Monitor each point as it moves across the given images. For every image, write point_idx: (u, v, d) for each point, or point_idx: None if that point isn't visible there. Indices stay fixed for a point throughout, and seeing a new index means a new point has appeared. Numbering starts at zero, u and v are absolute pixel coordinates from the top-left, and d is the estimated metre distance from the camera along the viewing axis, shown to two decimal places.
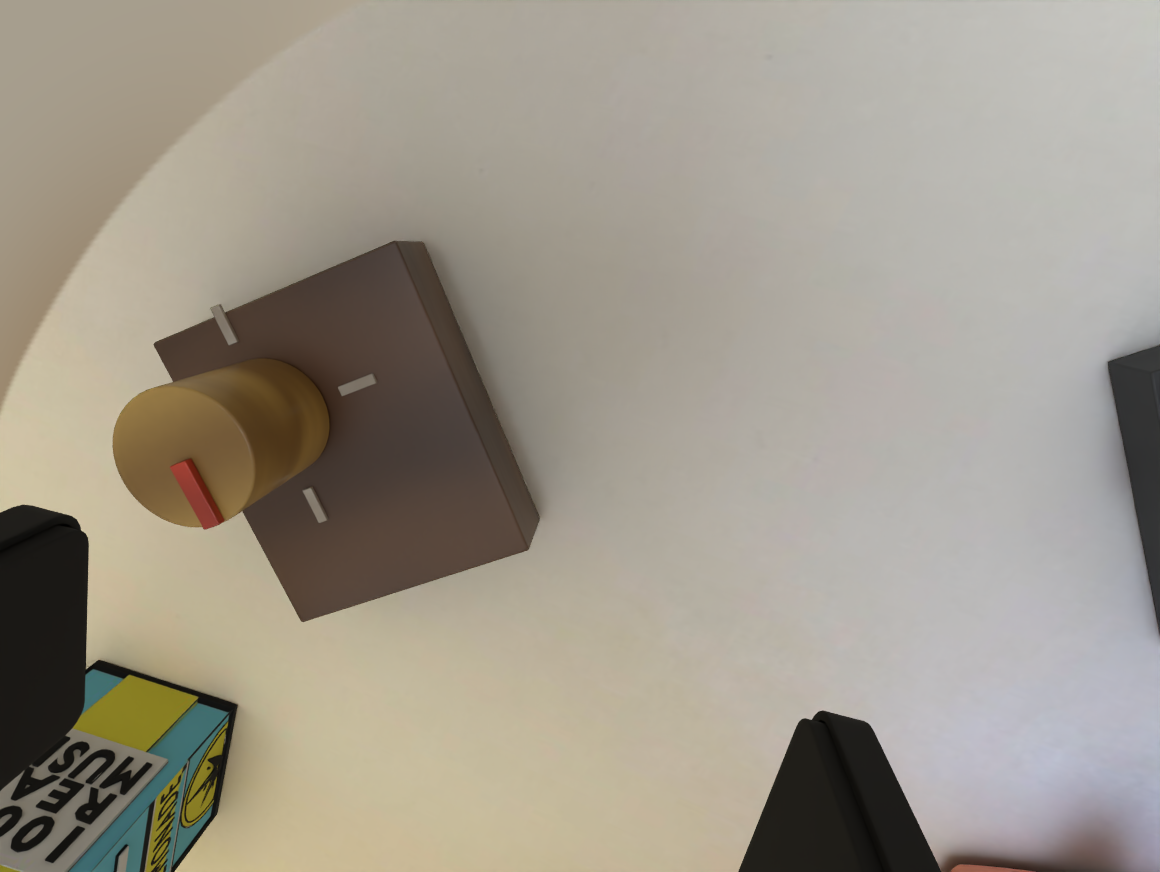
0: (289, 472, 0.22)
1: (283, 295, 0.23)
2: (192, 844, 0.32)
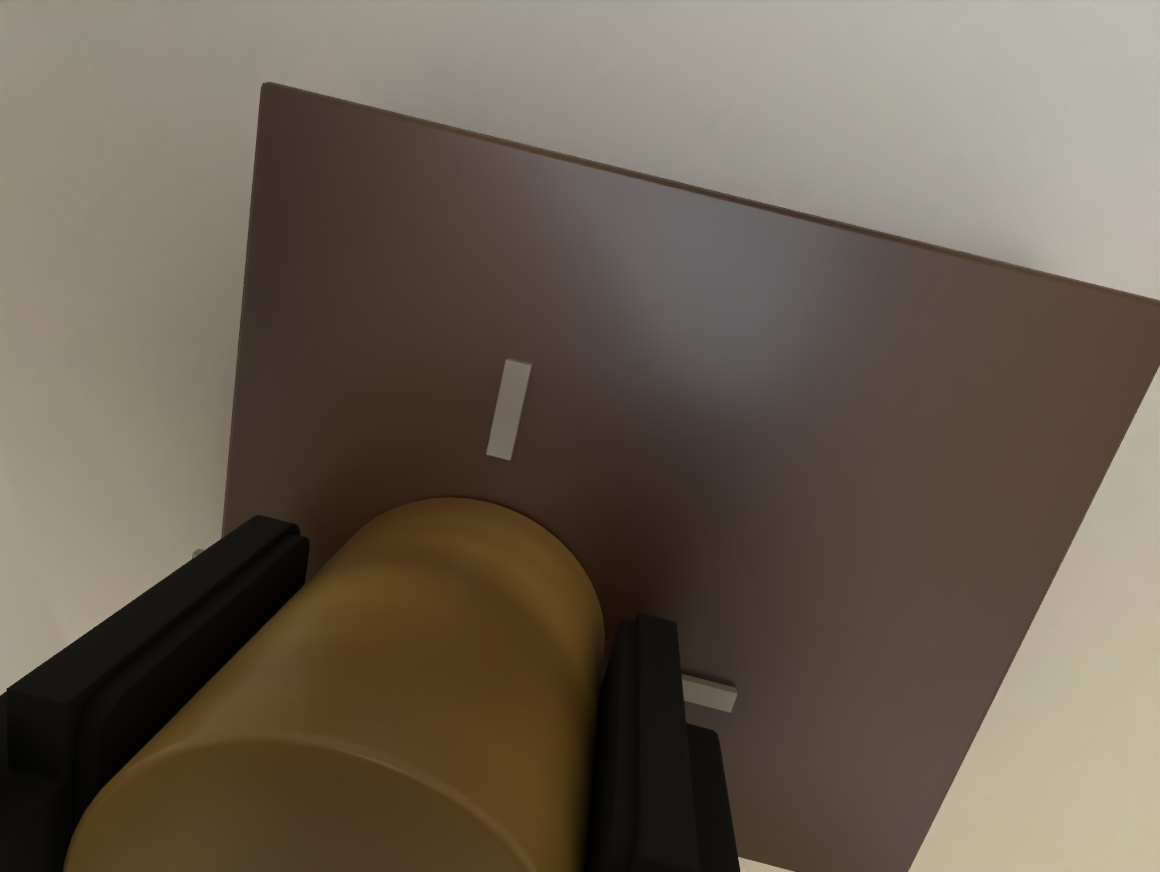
0: (578, 694, 0.07)
1: (245, 418, 0.10)
2: None
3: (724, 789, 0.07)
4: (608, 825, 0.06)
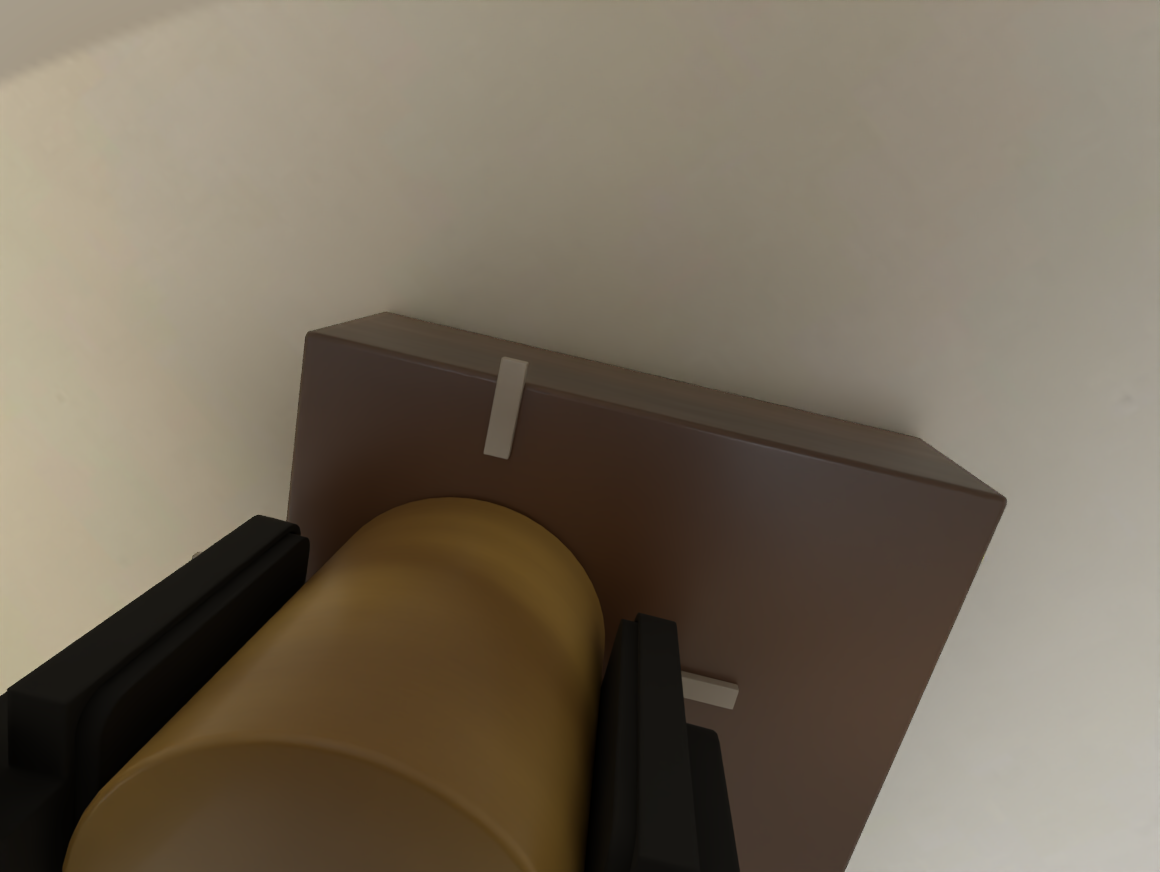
0: (578, 693, 0.07)
1: (681, 437, 0.09)
2: None
3: (724, 789, 0.07)
4: (608, 825, 0.06)
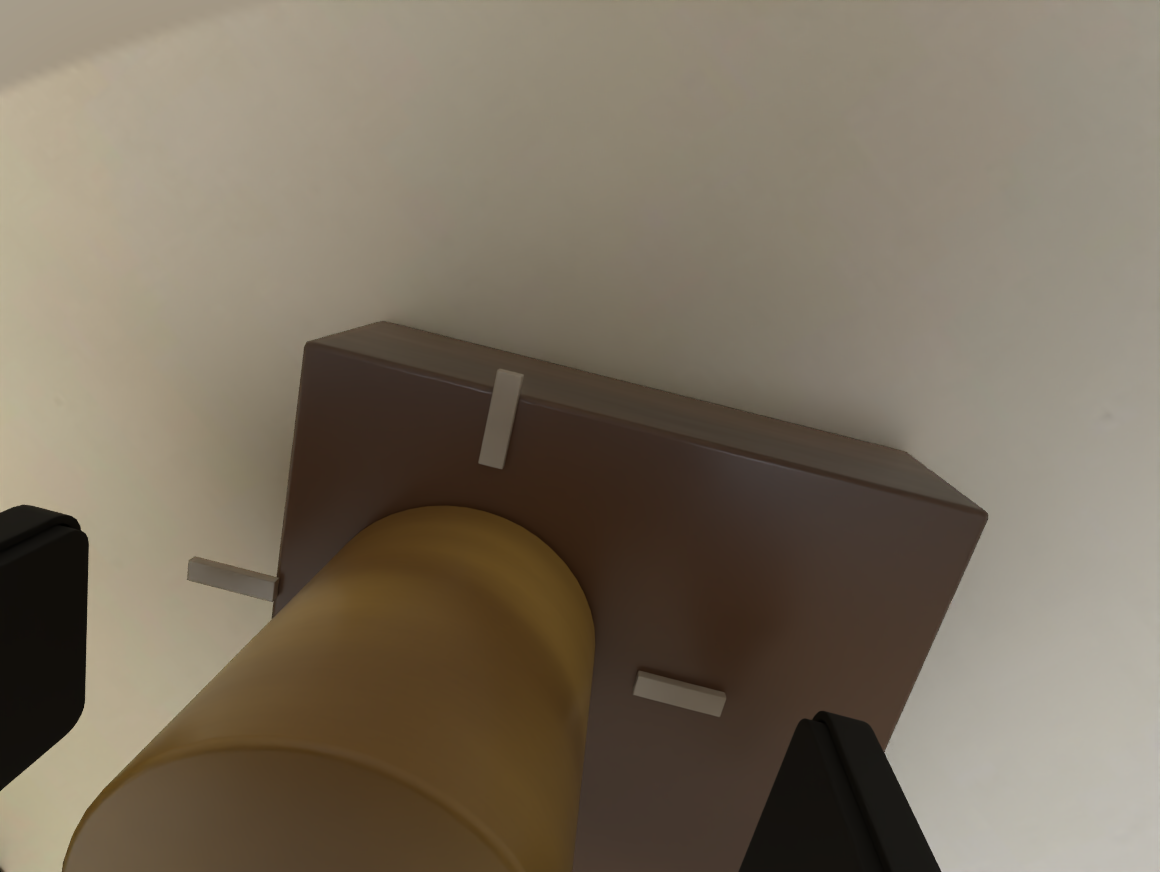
0: (570, 704, 0.08)
1: (672, 450, 0.09)
2: None
3: None
4: None
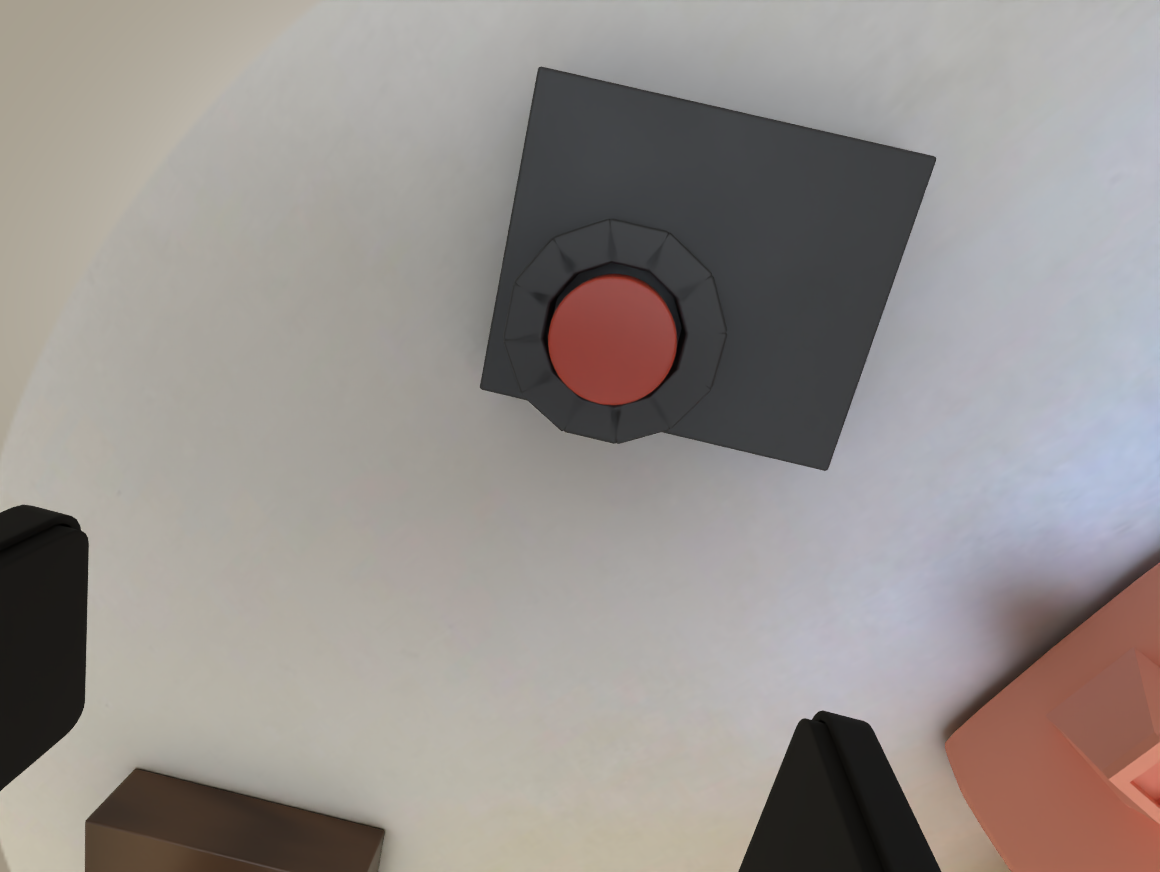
0: None
1: None
2: None
3: None
4: None
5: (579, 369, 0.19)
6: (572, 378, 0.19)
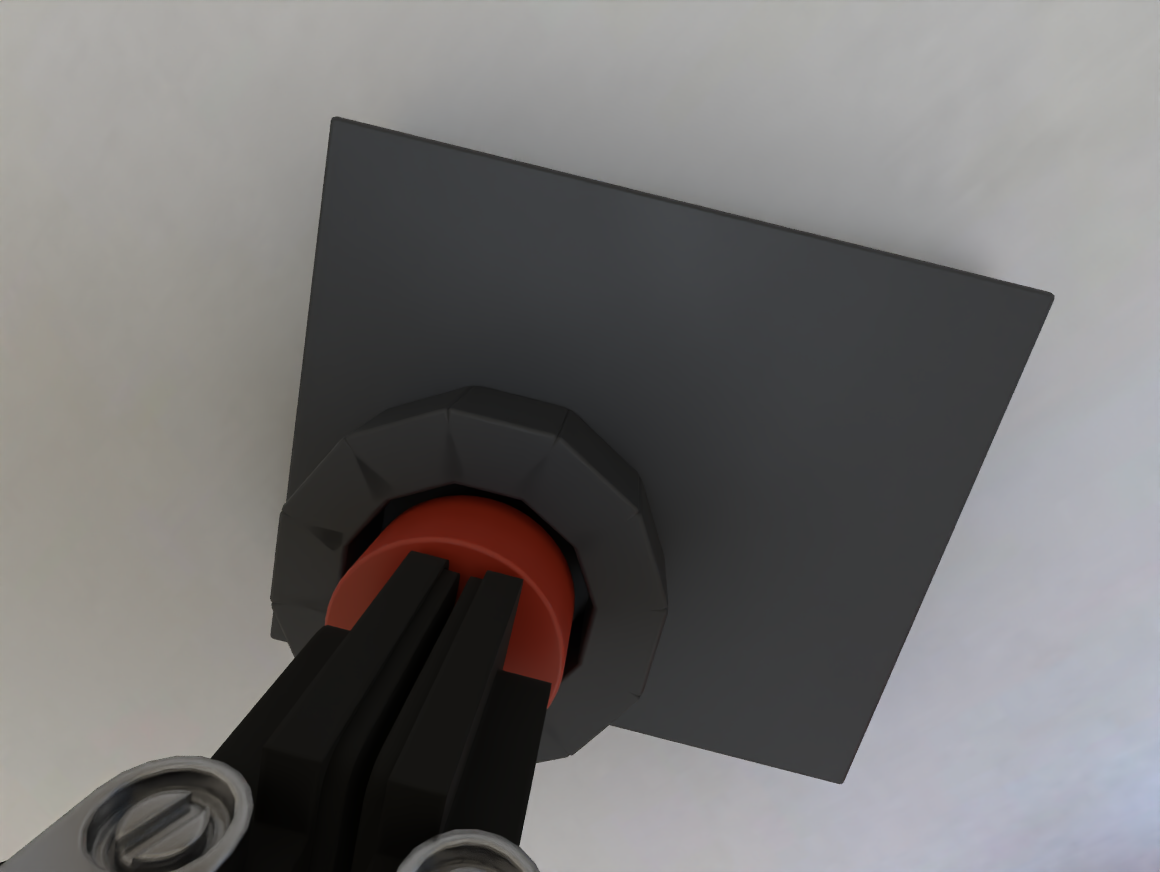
0: None
1: None
2: None
3: (538, 734, 0.07)
4: None
5: None
6: None
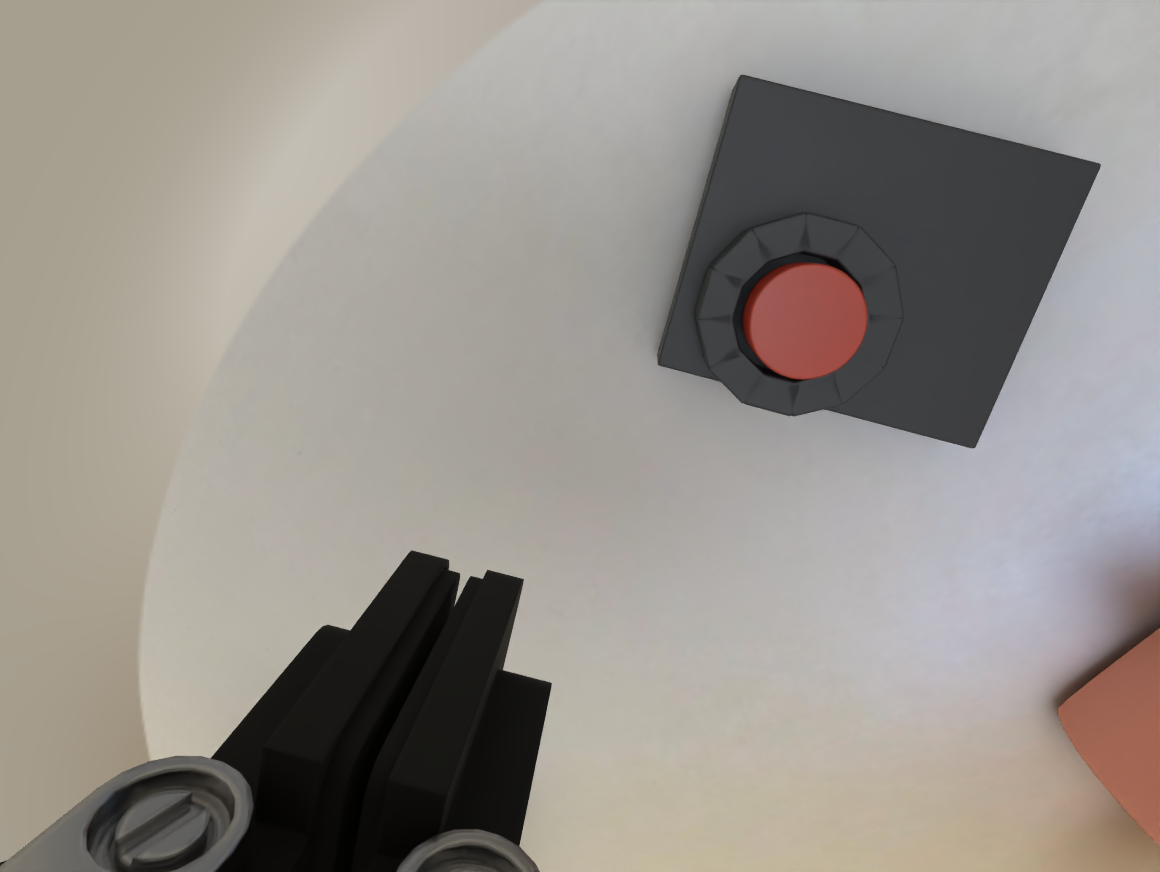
0: None
1: None
2: None
3: (538, 734, 0.07)
4: None
5: (775, 346, 0.21)
6: (768, 354, 0.21)
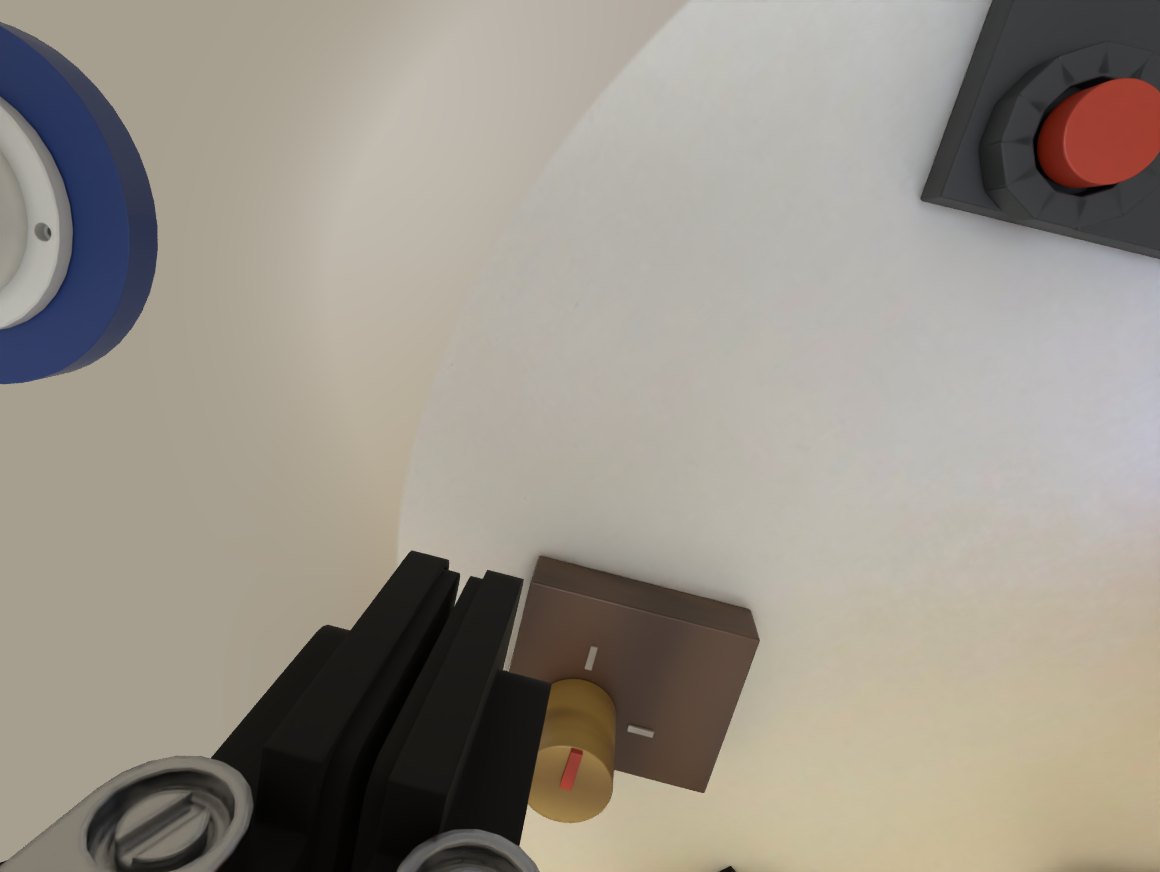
0: (554, 711, 0.33)
1: (517, 656, 0.35)
2: None
3: (538, 734, 0.07)
4: None
5: (1085, 154, 0.25)
6: (1078, 162, 0.25)
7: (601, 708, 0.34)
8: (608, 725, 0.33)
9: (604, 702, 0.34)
